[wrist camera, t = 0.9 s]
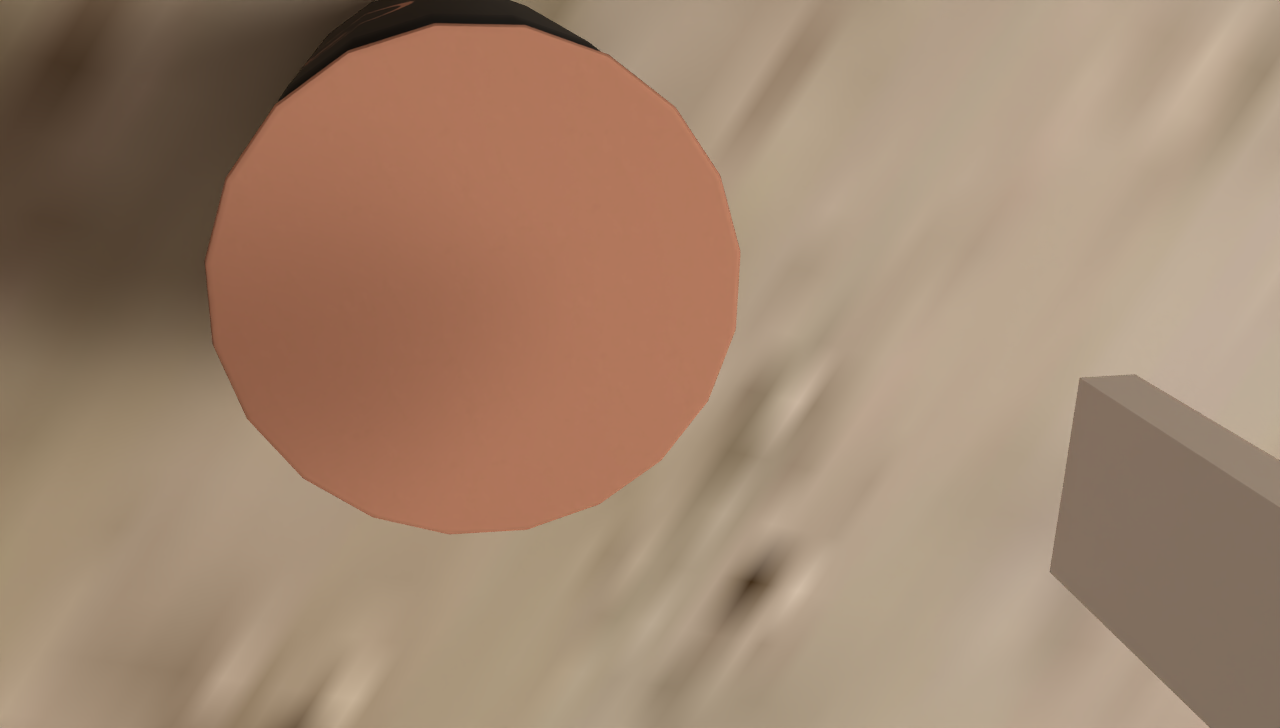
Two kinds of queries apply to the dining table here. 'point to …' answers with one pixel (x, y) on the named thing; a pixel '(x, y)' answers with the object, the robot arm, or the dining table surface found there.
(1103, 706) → the dining table surface
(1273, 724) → the robot arm
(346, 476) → the coffee jar
